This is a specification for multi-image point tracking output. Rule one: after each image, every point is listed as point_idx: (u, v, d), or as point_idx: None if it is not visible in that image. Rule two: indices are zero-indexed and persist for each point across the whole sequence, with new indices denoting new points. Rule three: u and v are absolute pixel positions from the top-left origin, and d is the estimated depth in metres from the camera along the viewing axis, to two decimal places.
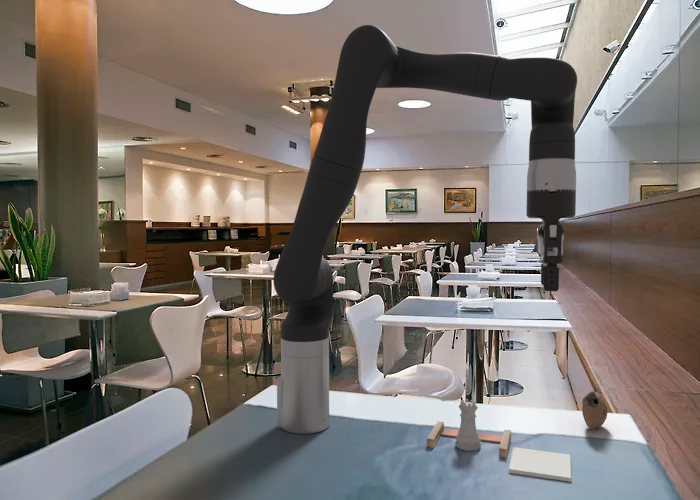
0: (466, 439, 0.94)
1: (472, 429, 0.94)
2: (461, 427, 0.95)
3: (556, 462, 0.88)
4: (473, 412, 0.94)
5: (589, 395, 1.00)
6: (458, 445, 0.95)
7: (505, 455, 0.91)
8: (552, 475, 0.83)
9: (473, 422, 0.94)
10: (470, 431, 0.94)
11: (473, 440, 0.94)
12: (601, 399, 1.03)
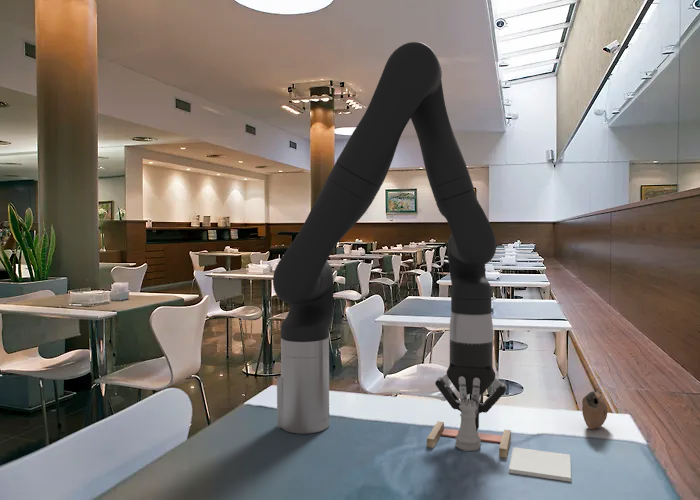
0: (466, 439, 0.94)
1: (472, 429, 0.94)
2: (461, 427, 0.95)
3: (556, 462, 0.88)
4: (473, 412, 0.94)
5: (589, 395, 1.00)
6: (458, 445, 0.95)
7: (505, 455, 0.91)
8: (552, 475, 0.83)
9: (473, 422, 0.94)
10: (470, 431, 0.94)
11: (473, 440, 0.94)
12: (601, 399, 1.03)
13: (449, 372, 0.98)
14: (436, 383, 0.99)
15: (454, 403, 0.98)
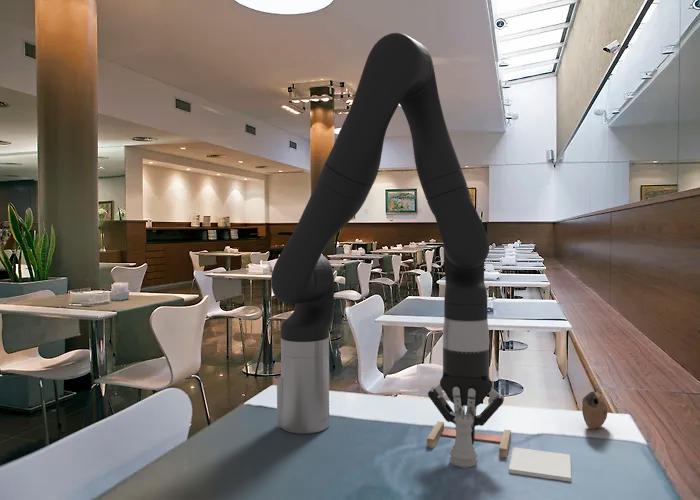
0: (462, 455, 0.87)
1: (469, 444, 0.88)
2: (456, 442, 0.88)
3: (556, 462, 0.88)
4: (469, 425, 0.88)
5: (589, 395, 1.00)
6: (453, 461, 0.88)
7: (505, 455, 0.91)
8: (552, 475, 0.83)
9: (469, 436, 0.88)
10: (466, 446, 0.87)
11: (469, 456, 0.87)
12: (601, 399, 1.03)
13: (442, 382, 0.92)
14: (429, 394, 0.92)
15: (448, 415, 0.92)
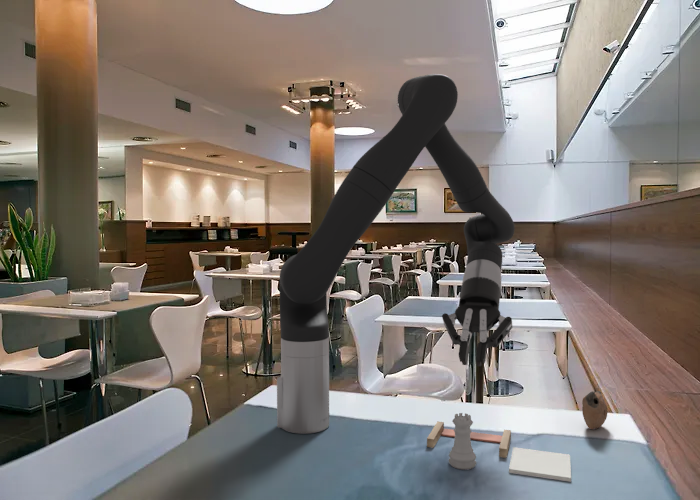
0: (461, 457, 0.86)
1: (468, 445, 0.87)
2: (455, 443, 0.88)
3: (556, 462, 0.88)
4: (468, 427, 0.87)
5: (589, 395, 1.00)
6: (452, 463, 0.87)
7: (505, 455, 0.91)
8: (552, 475, 0.83)
9: (468, 438, 0.87)
10: (465, 447, 0.87)
11: (468, 457, 0.86)
12: (601, 399, 1.03)
13: (458, 309, 1.05)
14: (443, 315, 1.05)
15: (454, 332, 1.02)
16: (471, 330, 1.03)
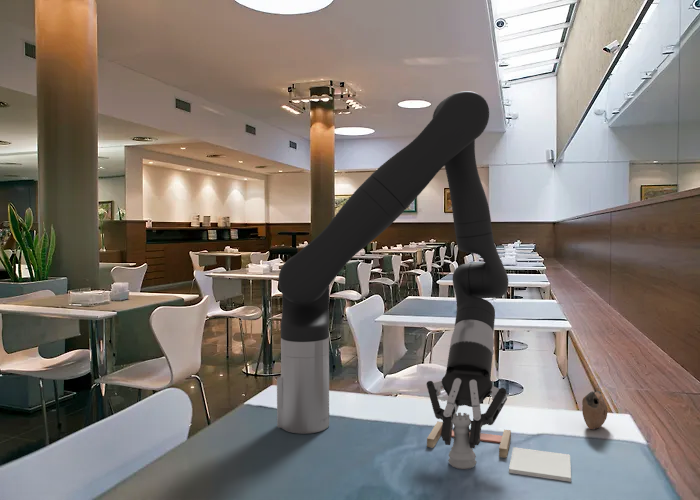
0: (461, 456, 0.87)
1: (467, 445, 0.87)
2: (455, 443, 0.88)
3: (556, 462, 0.88)
4: (467, 426, 0.87)
5: (589, 395, 1.00)
6: (452, 463, 0.87)
7: (505, 455, 0.91)
8: (552, 475, 0.83)
9: (467, 437, 0.87)
10: (464, 447, 0.87)
11: (468, 457, 0.86)
12: (601, 399, 1.03)
13: (445, 377, 0.94)
14: (427, 383, 0.94)
15: (436, 406, 0.90)
16: (457, 403, 0.91)
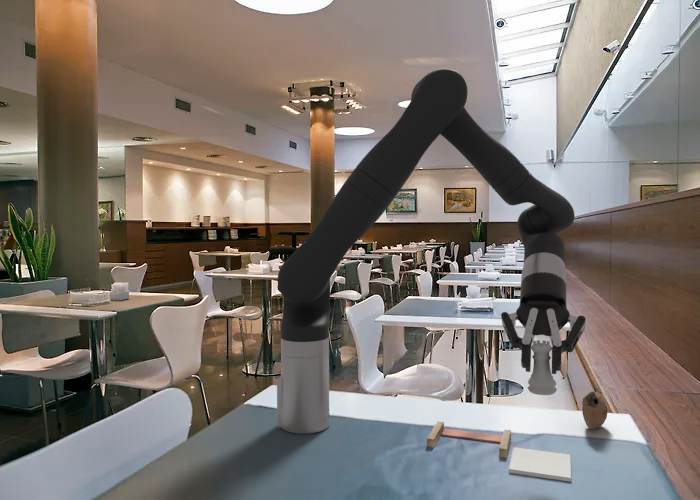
0: (542, 382, 0.86)
1: (548, 371, 0.86)
2: (535, 370, 0.87)
3: (556, 462, 0.88)
4: (548, 352, 0.86)
5: (589, 395, 1.00)
6: (533, 389, 0.87)
7: (505, 455, 0.91)
8: (552, 475, 0.83)
9: (548, 364, 0.86)
10: (545, 373, 0.86)
11: (549, 382, 0.86)
12: (601, 399, 1.03)
13: (520, 308, 0.93)
14: (502, 314, 0.93)
15: (514, 334, 0.90)
16: (534, 333, 0.91)
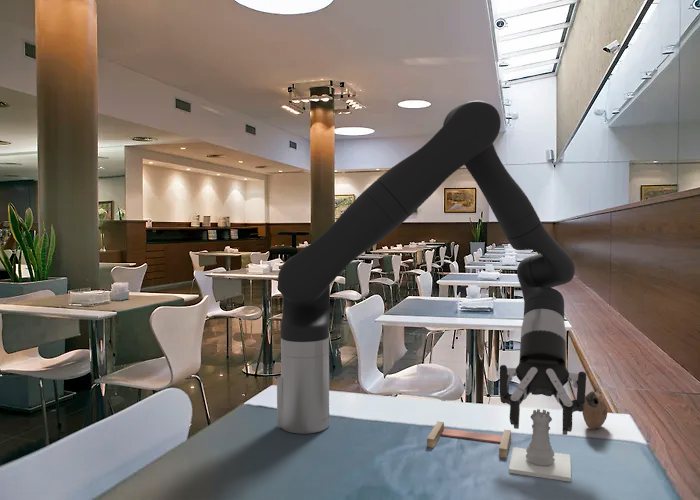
0: (541, 453, 0.86)
1: (547, 442, 0.87)
2: (534, 440, 0.87)
3: (556, 462, 0.88)
4: (548, 424, 0.87)
5: (589, 395, 1.00)
6: (531, 459, 0.87)
7: (505, 455, 0.91)
8: (552, 475, 0.83)
9: (547, 434, 0.87)
10: (544, 444, 0.87)
11: (548, 454, 0.86)
12: (601, 399, 1.03)
13: (520, 366, 0.93)
14: (501, 366, 0.94)
15: (503, 390, 0.91)
16: (528, 391, 0.91)
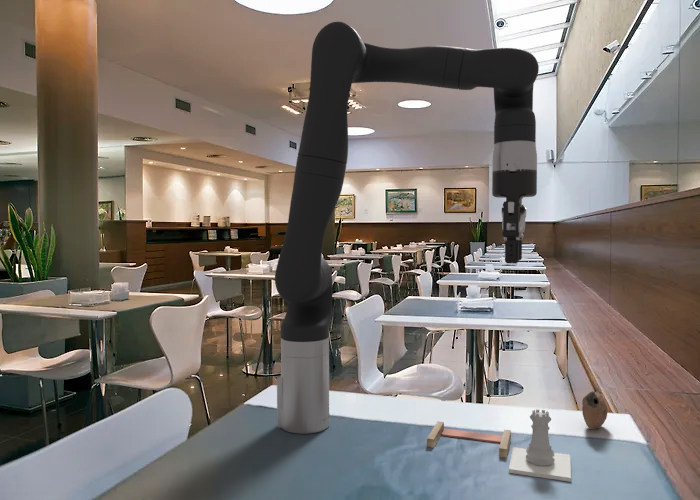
0: (540, 453, 0.86)
1: (546, 442, 0.87)
2: (533, 440, 0.87)
3: (556, 462, 0.88)
4: (547, 423, 0.87)
5: (589, 395, 1.00)
6: (531, 459, 0.87)
7: (505, 455, 0.91)
8: (552, 475, 0.83)
9: (547, 434, 0.87)
10: (544, 444, 0.87)
11: (547, 454, 0.86)
12: (601, 399, 1.03)
13: None
14: None
15: None
16: None
